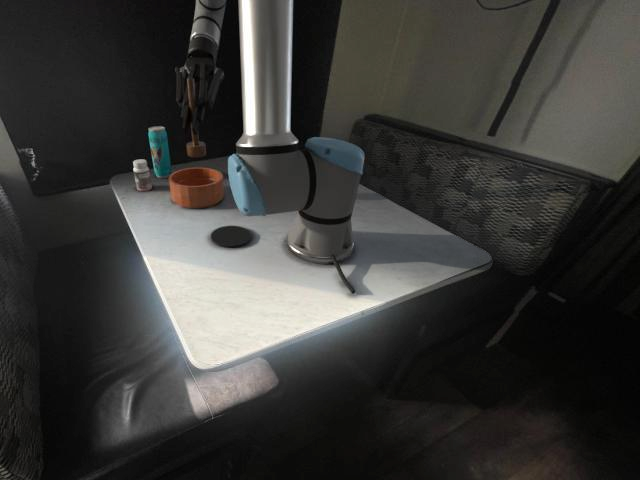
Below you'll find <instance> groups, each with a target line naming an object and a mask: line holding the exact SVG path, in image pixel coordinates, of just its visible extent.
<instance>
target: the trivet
mask: <svg viewBox="0 0 640 480" xmlns="http://www.w3.org/2000/svg"><path fill="white" fill-rule="evenodd" d="M210 239H211V242H212V243H213V244H214V245H216V246H218V247H220V248H227V249H234V248H235V249H236V248H240V247H244V246H246V245H248V244H249V243H250V242H251V241H252V233H251V232H250V230H249V229H247V228H245V227H243V226H238V225H225V226H220V227H218V228H216V229H214V230H213V231H212V232H211V233H210Z"/></svg>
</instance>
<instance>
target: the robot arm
mask: <svg viewBox="0 0 640 480" xmlns="http://www.w3.org/2000/svg"><path fill="white" fill-rule="evenodd" d="M237 2H238V23H239V24H238V26H239V50H240V73H241V75H240V76H241V77H240V78H241V100H242V120H243V121H242V123H243V124H242V125H243V133H242V134H241V137H240V138H239V139H238V140H237V142H236V143H235V150H236V152H235V153H232V155H229V156H228V158H227V174H228V180H229V186H230V189H231V193H232V197H233V199H234V202H235V205H236V207H237V208H238V210H239V212H241V214H242V215H244V216H246V217H256V216H257V217H259V216H261V217H266V216H268V215H276V214H277V215H278V214H283V213H284V214H285V213H291V212H297V214H296V216H295V219H294V220H293V223H292V225H291V226H290V229H289V231H288V233H287V236H286V248H287V250H288V251H289V252H290V253H291V254H292V255H293V256H294V257H296V258H298V259H300V260H302V261H304V262H305V261H306V262H309V263H312V264H321V265H327V264H333V265H334V267H335V269H336V271H337V273H338V275H339V277H340V280H341V281H342V282H343V284H344V286H345V287H346V288H347V289H348V291H349V292H350V293H351V294H352V295H354V294H356V289H355V288H354V287H353V286H352V284H351V283H350V281H348V279H347V277H346V276H345V274H344V271H343V270H342V267H341V266H340V264H339V263H340V262H343V261H345V260H346V259H348V258H349V257H350V256H351V255H352V252H353V248H354V235H353V228H352V227H353V226H352V216H353V211H354V208H355V205H356V204H355V203H356V199H357V196H358V190H359V186H360V182H361V177H362V175H363V174H364V164H365V163H364V162H365V158H366V157H365V152H364V151H363V149H362V148H360V147H359V146H358V145H355V144H353V143H351V142H348V141H346V140H341V139H337V138H332V137H322V136H321V137H319V136H314V137H310V138H308V139H307V140H306V142H305V144H304V147H305V148H301V149H299V139H298V138H297V136H295V134H293V132H292V131H291V118H292V117H291V116H292V74H293V73H292V72H293V34H294V33H293V31H294V30H293V28H294V26H293V25H294V0H237ZM226 5H227V0H195V9H194V15H193V22H192V28H191V34H190V38H189V45H188V51H187V59H186V60H185V63H184V66H182V67H179V66H175V68H174V72H175V74H176V99H175V101H176V102H177V104H178V106H179V108H180V109H181V108H182V109H181V113H180V114H181V115H180V116H181V119H182V121H183V122H182V126H181V129H182V131H183V132H184V133H183V134H185V135H186V136H188V135H189V132H190V128H191V120H190V109H189V97H188V86H187V85H186V88H185V78H186V77H185V76H186V74H187V78H194V83H195V88H197V85H198V83H199V92H198V93H199V94H198V101H197V104H196V105H195V111H194V117H193V123H192V131H193V133H194V135H197V133H198V134H199V126H200V123H201V122H203V121H204V118H205V117H204V116H205V111H206V110H207V109H208V110H212V109H213V108H214V104H215V101H216V98H217V94H218V91H219V88H220V85H221V83H222V82H223V80H224V79H225V73H224V70H223V69H224V68H222V67H217V65H216V64H217V59H218V54H219V53H218V52H219V46H220V39H221V34H222V33H221V32H222V27H223V21H224V15H225V11H226ZM212 77H213V78H212ZM211 78H212V80H211V83H210V87H209V80H210V79H211ZM208 87H209V89H208ZM207 91H208V92H207ZM192 131H191V132H192Z"/></svg>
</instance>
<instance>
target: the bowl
mask: <svg viewBox="0 0 640 480" xmlns="http://www.w3.org/2000/svg"><path fill="white" fill-rule="evenodd" d="M168 184H169V185H168V186H169V191H170V198H171V200H172V202H174V203H175V204H176V205H178V206H180V207H183V208H187V209H203V208H204V209H205V208H209V207H213V206H215V205H217V204H218V203H220V202H221V201H222V199H223V198H224V195H225V191H224V175H223V173H222V172H221V171H219V170H217V169H214V168H210V167H187V168H183V169H178V170H177V171H174V172H171V175H170V176H169V177H168Z"/></svg>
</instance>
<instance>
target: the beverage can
mask: <svg viewBox="0 0 640 480" xmlns="http://www.w3.org/2000/svg"><path fill="white" fill-rule="evenodd" d="M148 142H149V146H150V147H149V148H150V154H151V159H152V164H153V171H154V174H155V175H156V177H157V178H159V179H167V178H169V176H170V175H171V174H172V164H171V163H172V162H171V157H170V150H169V141H168V134H167V131H166V127H164V126H161V125H159V126H150V127H148Z"/></svg>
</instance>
